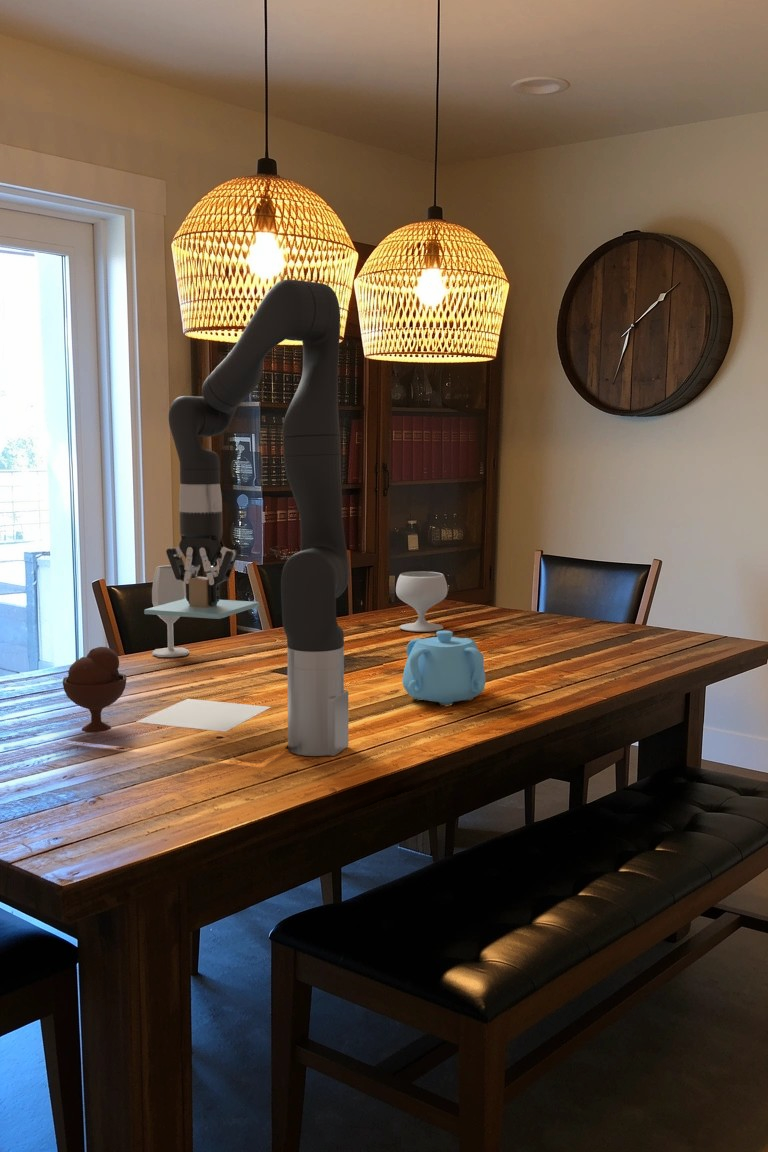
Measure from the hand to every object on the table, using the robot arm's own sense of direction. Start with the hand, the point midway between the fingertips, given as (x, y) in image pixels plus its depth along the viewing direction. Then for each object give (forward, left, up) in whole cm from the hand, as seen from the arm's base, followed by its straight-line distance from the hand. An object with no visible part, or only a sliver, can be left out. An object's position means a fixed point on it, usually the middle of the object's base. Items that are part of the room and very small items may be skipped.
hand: (202, 603), depth 189 cm
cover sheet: (0, 0, -1) cm, 1 cm away
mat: (0, 0, -21) cm, 21 cm away
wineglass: (+36, -47, -21) cm, 63 cm away
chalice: (-9, -101, -21) cm, 104 cm away
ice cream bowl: (+13, +15, -21) cm, 29 cm away
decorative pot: (-37, -29, -21) cm, 52 cm away
